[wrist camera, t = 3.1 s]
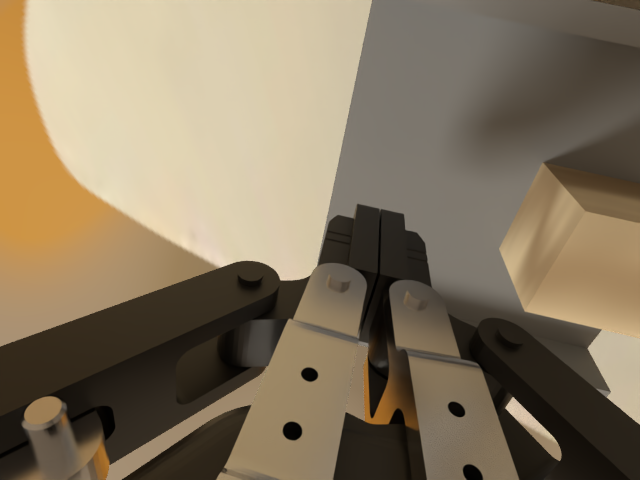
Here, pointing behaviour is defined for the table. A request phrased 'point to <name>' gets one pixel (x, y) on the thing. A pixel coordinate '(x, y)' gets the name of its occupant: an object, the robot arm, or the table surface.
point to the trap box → (488, 134)
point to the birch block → (578, 249)
